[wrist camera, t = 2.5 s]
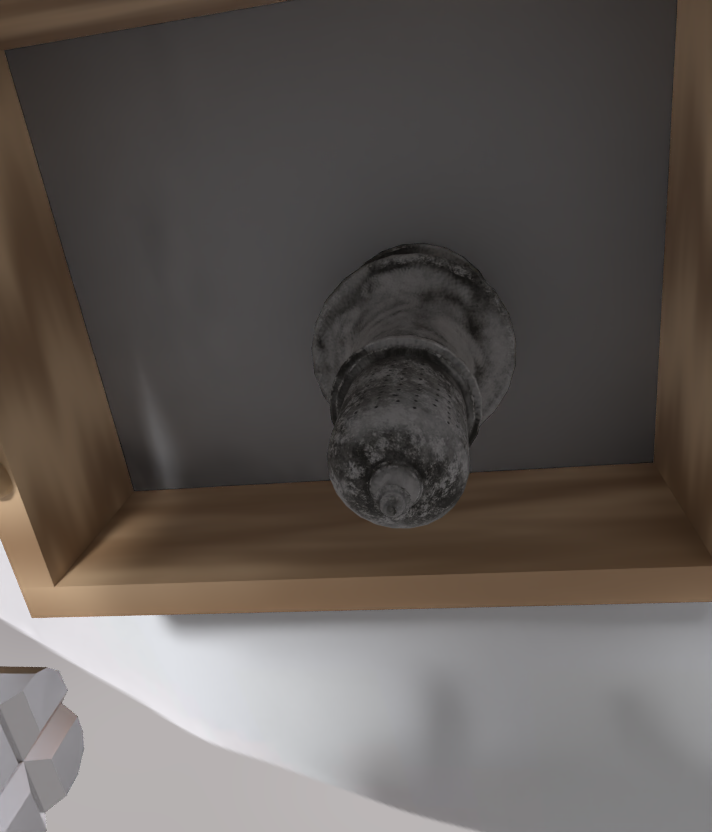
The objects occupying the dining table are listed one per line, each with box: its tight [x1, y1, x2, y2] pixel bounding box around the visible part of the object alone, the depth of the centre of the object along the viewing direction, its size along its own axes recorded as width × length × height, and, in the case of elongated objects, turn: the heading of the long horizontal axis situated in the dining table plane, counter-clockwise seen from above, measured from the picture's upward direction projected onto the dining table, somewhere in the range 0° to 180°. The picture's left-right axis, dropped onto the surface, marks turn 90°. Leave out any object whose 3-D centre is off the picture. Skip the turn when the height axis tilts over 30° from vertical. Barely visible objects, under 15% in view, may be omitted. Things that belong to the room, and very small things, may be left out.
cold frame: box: [0, 0, 712, 618], centre depth 19 cm, size 18×22×6 cm
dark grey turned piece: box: [312, 243, 516, 528], centre depth 17 cm, size 6×6×12 cm
